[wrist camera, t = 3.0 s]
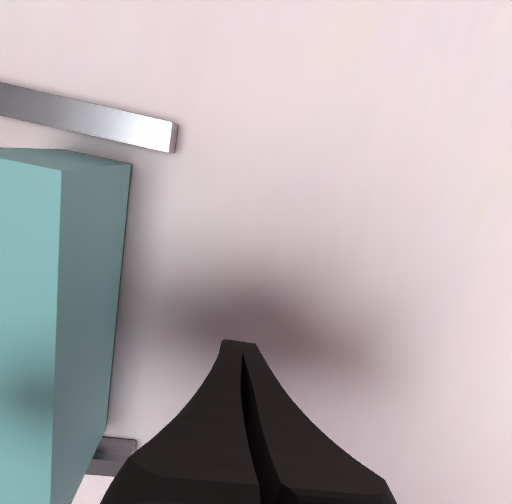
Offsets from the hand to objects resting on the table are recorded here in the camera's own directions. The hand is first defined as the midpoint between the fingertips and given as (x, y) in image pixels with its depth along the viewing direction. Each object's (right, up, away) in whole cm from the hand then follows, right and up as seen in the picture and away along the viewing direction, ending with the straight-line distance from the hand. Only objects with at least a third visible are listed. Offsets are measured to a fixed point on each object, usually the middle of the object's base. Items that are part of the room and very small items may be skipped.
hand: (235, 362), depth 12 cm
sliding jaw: (-6, +2, +1) cm, 7 cm away
